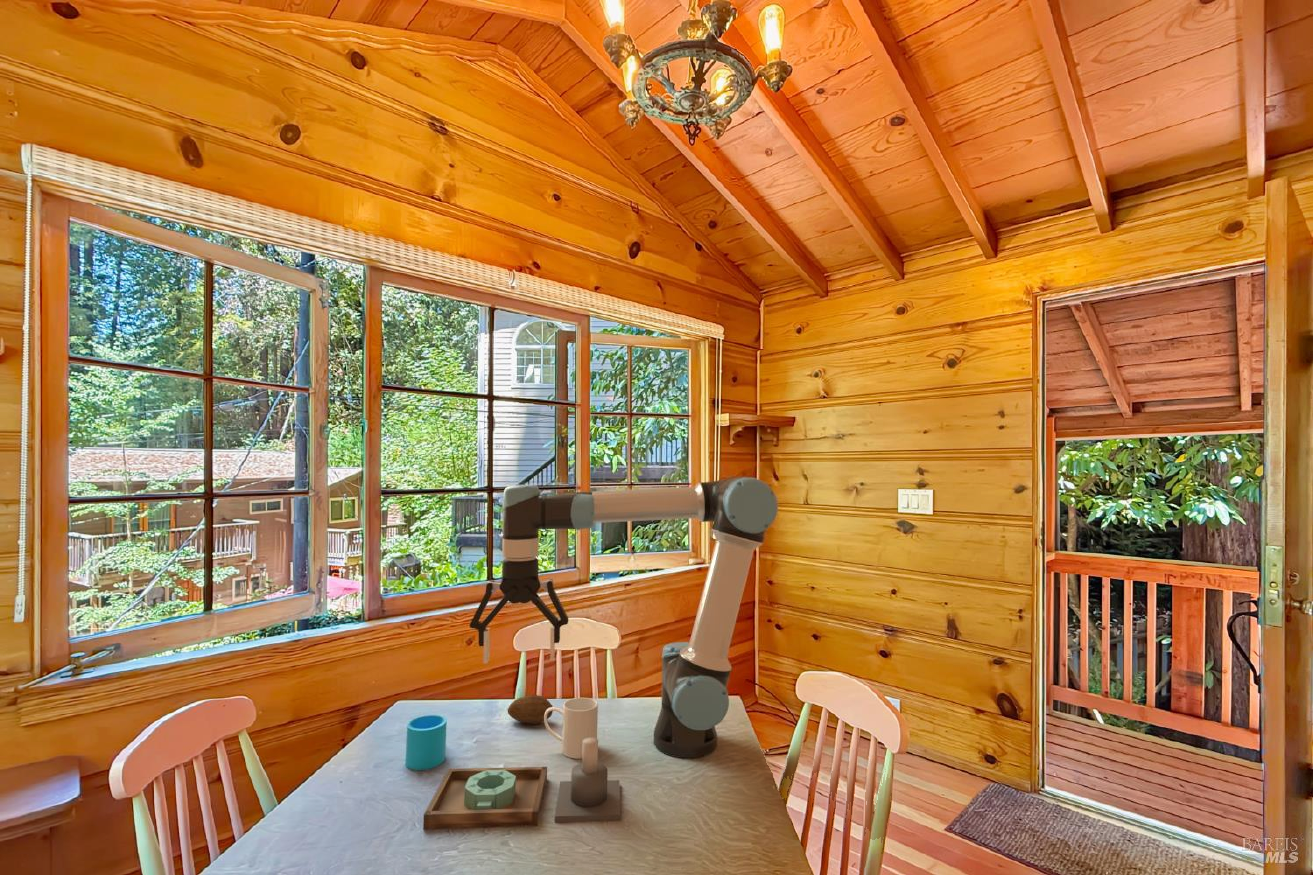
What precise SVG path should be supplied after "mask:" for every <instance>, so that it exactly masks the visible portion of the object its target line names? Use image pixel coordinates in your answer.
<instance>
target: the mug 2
mask: <svg viewBox="0 0 1313 875" xmlns="http://www.w3.org/2000/svg"><path fill="white" fill-rule="evenodd" d="M550 711H553V712H556V713H559V714H560V715H562V736H561V735H559V734H557V733H556V732H554V730H553V729H551V727H550V725H549V723H548V719H547V714H548V712H550ZM598 712H599V703H598V701H597V700H595V699H593V698H589V697H574V698H570V699H568V700H566V701H565V702H564V703H563V708H562V709H561V708H558V707H556V706H553V707H551V708H548V709H547V710H546V712H545V715H544V722H543V723H544V726H545V728H546V730H547V732H548V733H549V734H550V735H551V736H553V737H554V738H555V739H557V740H559V741H561V744H562V746H561V751H562V752H561V753H562V754H563V756H566V757H567V758H569V759H576V760H577V759H582V748H583V740H584V739H586V738H596V739H597V740H598V717H599V716H598V714H599V713H598Z"/></svg>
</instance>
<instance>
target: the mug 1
mask: <svg viewBox="0 0 1313 875" xmlns="http://www.w3.org/2000/svg"><path fill="white" fill-rule="evenodd" d="M447 720H448V719H447V718H446V717H445V716H444V715H443V716H442V715H440V714H429V715H428V714H426V715H422V716H418V717H414V718H412V719H411V720H409V721H408V723H407V724H406V726H407V727H406V744H405V745H406V746H405V766H406V768H408V769H410V770H414V771H423V770H430V769H433V768H436V767H437V766H439V765H441V764H442V763H443V762H445V760H446V748H447V746H446V744H447V723H448V722H447Z"/></svg>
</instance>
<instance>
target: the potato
mask: <svg viewBox="0 0 1313 875" xmlns="http://www.w3.org/2000/svg"><path fill="white" fill-rule="evenodd" d="M551 707H554V706H553V705H552V704H551V702H550V701H549V700H548V699H547V698H546V697H544V696H541V695H537V694H529V695H526V696H523V697H520V698H517V699H515V700H514V701H513V702H511V704H510V705H509V706H508V707H507V714H508V716H510V717H511V718H512V719H513V720H515V721H517V722H519V723H523V724H524V723H525V724H532V725H538V724H542V723H544V715H545V712H546V710H547V709H548V708H551ZM553 712H554V711H550V712H548V714H547V720H548V719H549V718H551V717H552V715H553Z"/></svg>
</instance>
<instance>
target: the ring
mask: <svg viewBox="0 0 1313 875" xmlns="http://www.w3.org/2000/svg"><path fill="white" fill-rule="evenodd" d="M515 790H516V776H515V775H513V774H511V773H510V772H508V771H506V770H485V771H483V772H481V773H478V774H476V775H474V776H471V777H470V778H469V779H468V781H467V784H466V786H465V794H464V805H466V806H467V807H469V808H470V809H472V810H491V809H501V808H503V807H505V806H507V805H509V804H511V803H512V802H513V799H514V796H515Z"/></svg>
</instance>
